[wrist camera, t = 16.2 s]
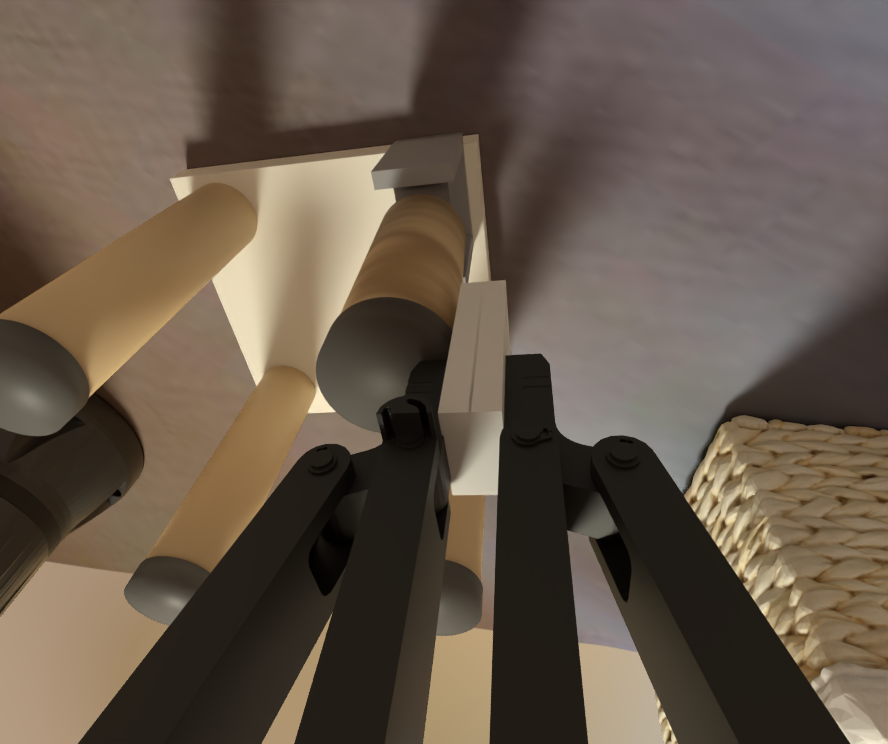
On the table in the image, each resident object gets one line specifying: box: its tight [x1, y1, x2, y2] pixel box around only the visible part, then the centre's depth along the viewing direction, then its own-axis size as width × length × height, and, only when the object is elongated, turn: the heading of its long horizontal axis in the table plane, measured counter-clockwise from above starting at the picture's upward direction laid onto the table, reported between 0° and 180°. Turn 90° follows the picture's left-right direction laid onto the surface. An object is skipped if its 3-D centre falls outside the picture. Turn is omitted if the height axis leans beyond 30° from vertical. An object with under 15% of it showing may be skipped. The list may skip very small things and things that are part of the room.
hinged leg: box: [316, 182, 466, 433], centre depth 21 cm, size 14×4×4 cm
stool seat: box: [0, 132, 491, 636], centre depth 28 cm, size 18×19×19 cm
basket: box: [655, 415, 888, 744], centre depth 37 cm, size 27×27×22 cm
